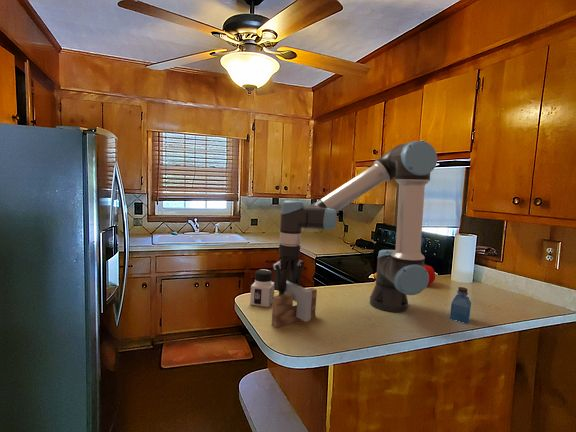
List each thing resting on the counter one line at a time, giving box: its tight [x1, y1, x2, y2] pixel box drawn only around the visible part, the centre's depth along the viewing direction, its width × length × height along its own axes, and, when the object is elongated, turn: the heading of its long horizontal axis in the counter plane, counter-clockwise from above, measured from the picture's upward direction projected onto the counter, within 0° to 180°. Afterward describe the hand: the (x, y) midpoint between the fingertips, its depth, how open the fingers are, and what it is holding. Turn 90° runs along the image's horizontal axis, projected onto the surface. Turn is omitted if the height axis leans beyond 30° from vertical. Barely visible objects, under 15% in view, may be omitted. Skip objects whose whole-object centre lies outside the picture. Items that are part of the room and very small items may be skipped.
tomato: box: [424, 263, 436, 286], centre depth 170 cm, size 11×12×10 cm
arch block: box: [285, 280, 312, 322], centre depth 117 cm, size 14×2×10 cm, turn 39°
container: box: [249, 268, 275, 308], centre depth 133 cm, size 8×8×13 cm
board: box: [271, 287, 318, 328], centre depth 118 cm, size 18×2×10 cm, turn 129°
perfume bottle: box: [449, 286, 472, 324], centre depth 127 cm, size 6×6×12 cm
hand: (285, 307), depth 121 cm, fingers closed on arch block, 2 cm apart
